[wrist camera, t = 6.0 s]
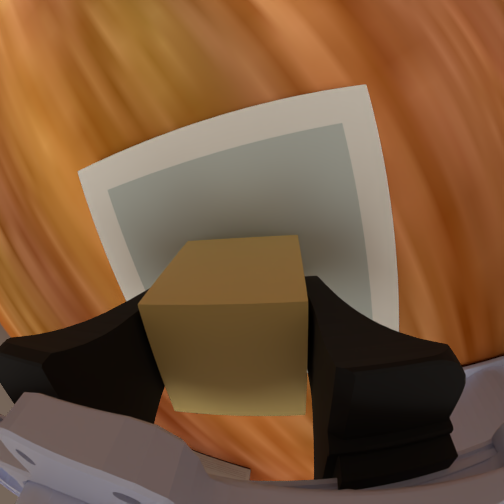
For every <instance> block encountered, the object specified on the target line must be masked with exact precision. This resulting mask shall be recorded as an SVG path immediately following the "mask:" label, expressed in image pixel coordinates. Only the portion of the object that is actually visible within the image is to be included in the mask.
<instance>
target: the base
mask: <svg viewBox="0 0 504 504" xmlns="http://www.w3.org/2000/svg"><path fill="white" fill-rule="evenodd" d="M78 175H79V178H80V181H81V185H82V188H83V191H84V194H85V197H86V200H87V203H88V206H89V209H90V212H91V215H92V218H93V221H94V223H95V226H96V229H97V232H98V234H99V237H100V240H101V242H102V245H103V247H104V250H105V252H106V255H107V257H108V260H109V262H110V265H111V267H112V270H113V272H114V274H115V277H116V279H117V281H118V283H119V286H120V288H121V290H122V292H123V295H124V297H125V299H126V301H128V300H130V299H132V298H134V297H135V296H137V295H139V294H140V293H142V292H144V291H146V290H147V289H149V288H150V287H151V286H152V285H153V284H154V282H155V281H156V280H157V278H158V277H159V276H160V275H161V273H162V272H163V271H164V270H165V268H166V267H167V266H168V265H169V263H170V262H171V261H172V260H173V258H174V257H175V256H176V255H177V253H178V252H179V251H180V250H181V249H182V247H183V246H184V245H185V244H186V242H187V241H194V240H211V239H228V238H245V237H263V236H282V235H298V239H299V245H300V251H301V257H302V263H303V270H304V276H318V277H319V278H320V279H321V280H322V281H323V282H324V283H325V284H326V285H327V286H328V287H329V288H330V289H331V290H332V291H333V292H334V293H335V294H336V295H337V296H338V297H340V298H341V299H342V300H343V301H344V302H346V303H347V304H348V305H350V306H351V307H352V308H354V309H355V310H357V311H358V312H360V313H361V314H363V315H365V316H366V317H368V318H370V319H371V320H373V321H375V322H377V323H379V324H381V325H383V326H386V327H388V328H390V329H392V330H395V331H397V332H399V295H398V273H397V258H396V246H395V235H394V226H393V217H392V209H391V202H390V195H389V188H388V182H387V176H386V170H385V164H384V159H383V154H382V148H381V144H380V139H379V134H378V130H377V125H376V121H375V117H374V113H373V109H372V105H371V101H370V97H369V93H368V90H367V86H366V84H365V85H358V86H350V87H344V88H337V89H331V90H325V91H320V92H314V93H309V94H304V95H299V96H294V97H289V98H285V99H280V100H276V101H272V102H268V103H264V104H260V105H256V106H252V107H248V108H244V109H241V110H237V111H233V112H230V113H226V114H223V115H220V116H216V117H213V118H210V119H207V120H204V121H200V122H197V123H194V124H191V125H188V126H186V127H183V128H180V129H177V130H174V131H171V132H169V133H166V134H163V135H160V136H158V137H155V138H153V139H150V140H147V141H145V142H142V143H140V144H137V145H135V146H133V147H130V148H128V149H125V150H123V151H121V152H118V153H116V154H114V155H112V156H109V157H107V158H105V159H103V160H101V161H98V162H96V163H94V164H92V165H90V166H88V167H86V168H84V169H82V170H80V171H78ZM307 373H308V371H307Z"/></svg>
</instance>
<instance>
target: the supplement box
mask: <svg viewBox="0 0 504 504" xmlns="http://www.w3.org/2000/svg"><path fill="white" fill-rule="evenodd" d="M192 451H193V450H192ZM193 452H194V453H195V454H196V455H197V456H198V457H199V459H200V461H201V463H202V465H203V467H204V469H205V471H206V473H209V474H213V475H218V476H222V477H227V478H232V479H237V480H248V481H249V479H250V472H251V470H250V469H247V468H243V467H240V466H237V465H234V464H230V463H227V462H224V461H221V460H218V459H215V458H212V457H209V456H206V455H204V454H201V453H198V452H196V451H193Z"/></svg>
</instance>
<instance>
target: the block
mask: <svg viewBox="0 0 504 504" xmlns="http://www.w3.org/2000/svg"><path fill="white" fill-rule="evenodd" d="M138 308H139V311H140V314H141V318H142V321H143V324H144V327H145V331H146V334H147V337H148V340H149V343H150V346H151V349H152V352H153V355H154V357H155V360H156V363H157V366H158V369H159V371H160V374H161V377H162V379H163V382H164V385H165V387H166V390H167V392H168V395H169V397H170V400H171V402H172V405H173V407H174V410H175V411H180V412H190V413H201V414H216V415H238V416H290V415H305V410H306V389H307V359H308V296H307V289H306V283H305V276H304V270H303V263H302V257H301V251H300V245H299V239H298V235H282V236H263V237H245V238H228V239H211V240H194V241H187V242H186V244H185V245H184V246H183V247H182V249H181V250H180V251H179V252H178V253H177V255H176V256H175V257H174V258H173V260H172V261H171V262H170V263H169V265H168V266H167V267H166V268H165V270H164V271H163V272H162V273H161V275H160V276H159V277H158V278H157V280H156V281H155V282H154V284H153V285H152V286H151V287H150V289H149V290H148V291H147V293H146V294H145V295H144V297H143V298H142V299H141V300H140V302H139V303H138Z"/></svg>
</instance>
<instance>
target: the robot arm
mask: <svg viewBox="0 0 504 504" xmlns="http://www.w3.org/2000/svg"><path fill="white" fill-rule="evenodd" d="M305 283H306V289H307V296H308V359H307V371H308V376H309V382H310V388H311V395H312V409H313V433H314V480H300V481H248V480H237V479H232V478H227V477H222V476H218V475H213V474H209V473H206V471H205V469H204V467H203V465H202V463H201V461H200V459H199V457H198V456H197V455H196V454H195V453H194V452H193V451H192V450H191V449H190V447H189V446H188V445H187V444H186V443H185V442H184V441H183V440H182V439H181V438H179V437H177V436H175V435H174V434H172V433H170V432H168V431H167V430H165V429H163V428H161V427H160V426H158V425H155V424H154V421H155V417H156V413H157V409H158V406H159V402H160V398H161V395H162V392H163V390H164V387H165V385H164V382H163V379H162V377H161V374H160V371H159V369H158V366H157V363H156V360H155V357H154V355H153V352H152V349H151V346H150V343H149V340H148V337H147V334H146V331H145V327H144V324H143V321H142V318H141V314H140V311H139V308H138V303H139V302H140V300H141V299H142V298H143V297H144V295H145V294H146V293H147V291H148V290H149V289H150V288H149V289H147V290H146V291H144V292H142V293H140V294H139V295H137V296H135V297H134V298H132V299H130V300H128V301H127V302H125V303H123V304H121V305H119V306H117V307H115V308H113V309H112V310H110V311H108V312H106V313H104V314H101V315H99V316H97V317H94V318H92V319H90V320H87V321H85V322H82V323H79V324H76V325H73V326H70V327H67V328H64V329H60V330H56V331H52V332H47V333H43V334H37V335H31V336H22V337H13V338H9V339H7V340H6V341H5V342H4V343H3V344H2V345H1V346H0V383H1V385H2V386H3V388H4V389H5V391H6V392H7V394H8V395H9V397H10V398H11V399H12V401H13V403H14V404H15V405H14V406H13V407H12V409H11V410H10V411H9V412H8V414H7V415H6V416H3V415H1V414H0V484H2V485H3V486H4V487H6V488H7V489H8V490H10V491H11V492H12V493H14V494H15V495H17V496H18V499H17V500H16V503H15V504H504V356H501V357H498V358H495V359H491V360H488V361H484V362H481V363H477V364H473V365H469V366H465V367H462V366H461V364H460V362H459V361H458V359H457V357H456V356H455V354H454V353H453V351H452V350H451V348H450V347H449V346H448V344H443V343H438V342H433V341H428V340H423V339H419V338H416V337H412V336H409V335H406V334H403V333H400V332H397V331H395V330H392V329H390V328H388V327H386V326H383V325H381V324H379V323H377V322H375V321H373V320H371V319H370V318H368V317H366V316H365V315H363V314H361V313H360V312H358V311H357V310H355V309H354V308H352V307H351V306H350V305H348V304H347V303H346V302H344V301H343V300H342V299H341V298H340V297H338V296H337V295H336V294H335V293H334V292H333V291H332V290H331V289H330V288H329V287H328V286H327V285H326V284H325V283H324V282H323V281H322V280H321V279H320V278H319V277H318V276H305Z"/></svg>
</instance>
